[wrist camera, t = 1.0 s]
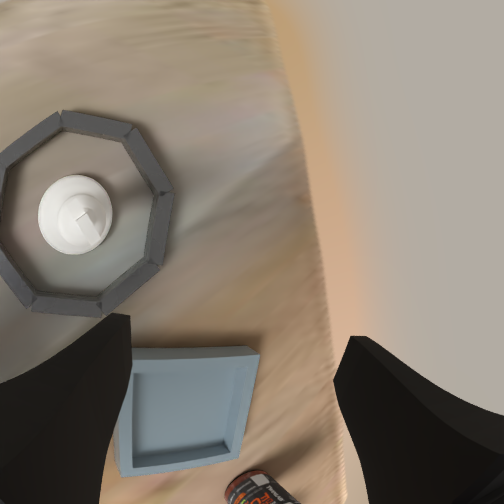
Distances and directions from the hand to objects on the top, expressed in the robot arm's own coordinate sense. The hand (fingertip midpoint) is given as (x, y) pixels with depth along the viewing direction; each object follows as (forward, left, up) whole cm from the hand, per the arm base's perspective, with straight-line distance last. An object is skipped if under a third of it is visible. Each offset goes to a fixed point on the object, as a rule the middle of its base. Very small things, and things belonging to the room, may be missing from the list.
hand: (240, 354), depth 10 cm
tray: (+4, -11, -13) cm, 17 cm away
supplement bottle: (+13, -24, -13) cm, 30 cm away
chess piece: (-5, +3, -13) cm, 14 cm away
